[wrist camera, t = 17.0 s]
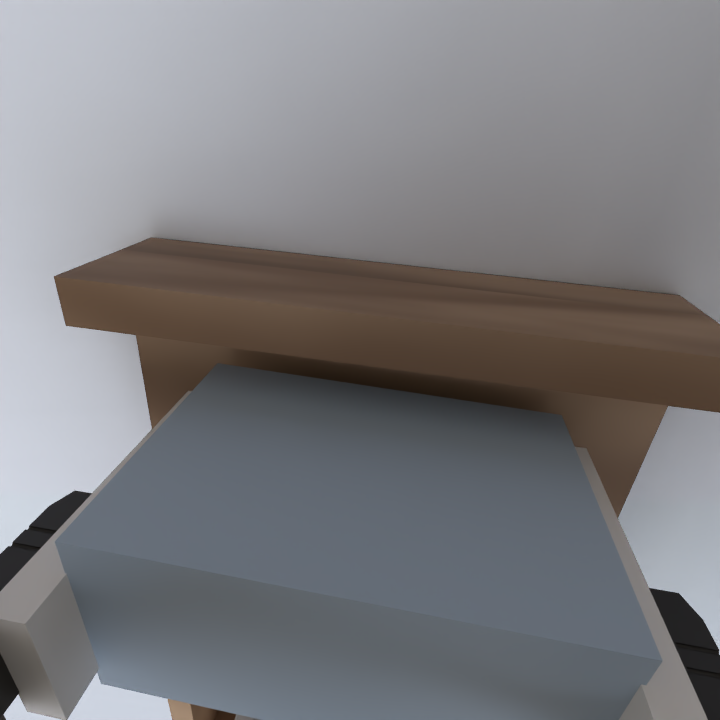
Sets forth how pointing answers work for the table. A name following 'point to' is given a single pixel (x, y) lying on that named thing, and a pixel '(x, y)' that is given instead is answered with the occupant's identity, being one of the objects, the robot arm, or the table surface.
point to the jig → (407, 340)
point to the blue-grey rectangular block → (357, 560)
